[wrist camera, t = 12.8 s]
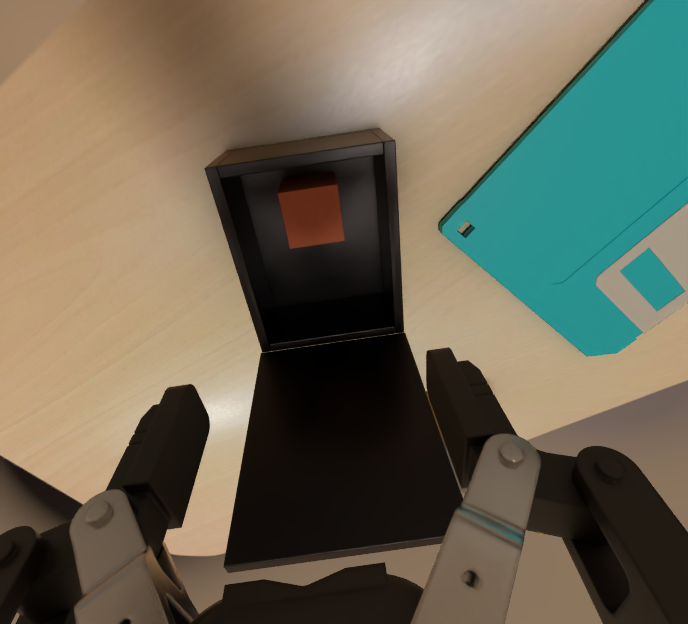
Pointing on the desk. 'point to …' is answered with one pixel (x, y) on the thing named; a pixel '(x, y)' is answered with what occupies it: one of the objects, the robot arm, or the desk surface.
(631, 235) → the diskette
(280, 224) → the dark brown box
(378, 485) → the lid
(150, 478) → the robot arm
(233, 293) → the desk surface
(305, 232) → the block
